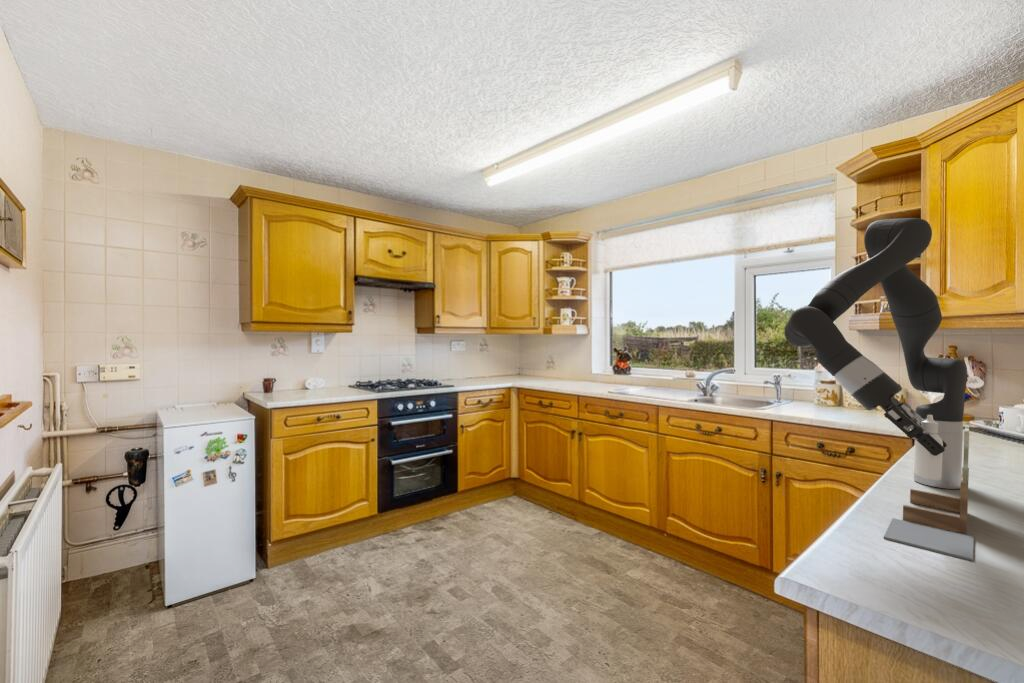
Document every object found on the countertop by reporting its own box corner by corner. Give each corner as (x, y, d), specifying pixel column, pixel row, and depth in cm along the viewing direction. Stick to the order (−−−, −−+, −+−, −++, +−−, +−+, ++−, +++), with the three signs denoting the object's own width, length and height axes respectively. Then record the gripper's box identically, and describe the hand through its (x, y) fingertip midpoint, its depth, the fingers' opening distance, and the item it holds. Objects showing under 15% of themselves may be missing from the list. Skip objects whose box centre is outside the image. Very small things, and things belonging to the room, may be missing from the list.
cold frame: (910, 501, 108) (912, 416, 108) (967, 513, 101) (970, 422, 101) (902, 520, 97) (905, 425, 96) (966, 534, 90) (969, 432, 90)
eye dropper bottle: (944, 476, 90) (947, 415, 90) (940, 482, 86) (943, 418, 86) (915, 471, 93) (917, 412, 93) (909, 476, 90) (912, 414, 89)
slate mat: (892, 519, 97) (892, 518, 97) (973, 538, 88) (973, 536, 88) (883, 538, 88) (883, 536, 88) (973, 561, 79) (973, 558, 79)
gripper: (877, 372, 90) (960, 444, 81) (888, 370, 100) (962, 434, 91) (843, 396, 94) (918, 468, 85) (856, 391, 104) (925, 455, 95)
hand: (941, 450), depth 88 cm, fingers closed on eye dropper bottle, 5 cm apart
